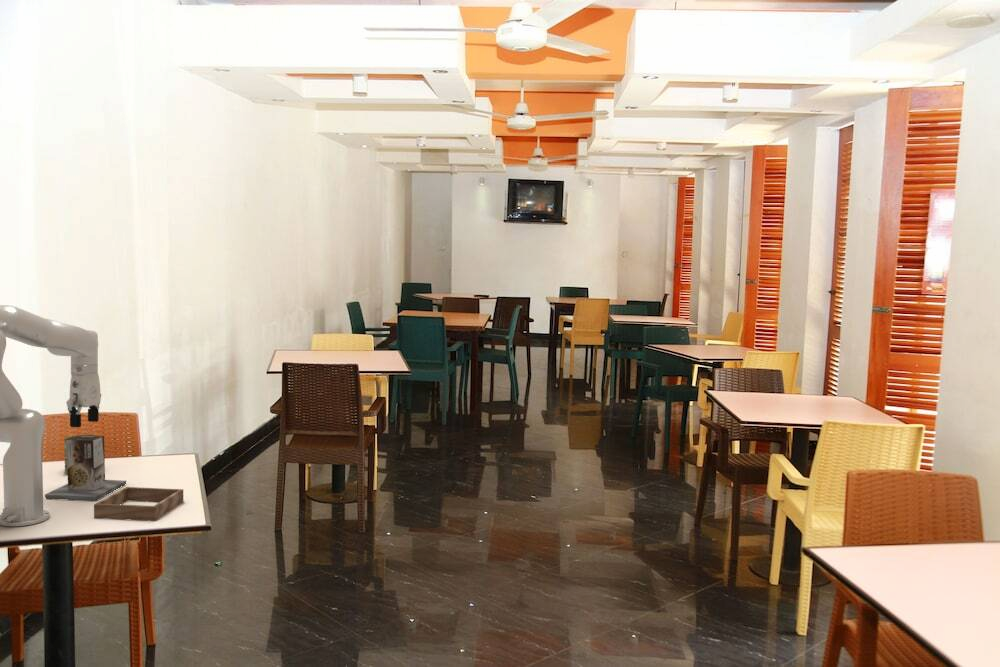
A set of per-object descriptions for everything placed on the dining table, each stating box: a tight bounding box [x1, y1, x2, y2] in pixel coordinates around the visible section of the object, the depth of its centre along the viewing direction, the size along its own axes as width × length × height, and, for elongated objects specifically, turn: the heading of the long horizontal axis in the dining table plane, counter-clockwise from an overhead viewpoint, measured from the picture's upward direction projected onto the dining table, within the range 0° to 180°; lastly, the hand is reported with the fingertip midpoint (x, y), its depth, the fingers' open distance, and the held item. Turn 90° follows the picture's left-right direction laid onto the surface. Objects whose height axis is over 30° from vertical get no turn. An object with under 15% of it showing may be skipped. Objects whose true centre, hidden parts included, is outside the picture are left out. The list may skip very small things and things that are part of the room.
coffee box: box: [66, 434, 106, 490], centre depth 254 cm, size 9×6×16 cm
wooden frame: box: [93, 486, 184, 522], centre depth 239 cm, size 18×18×4 cm
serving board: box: [44, 479, 127, 502], centre depth 255 cm, size 18×16×2 cm
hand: (84, 424), depth 253 cm, fingers open, 9 cm apart
